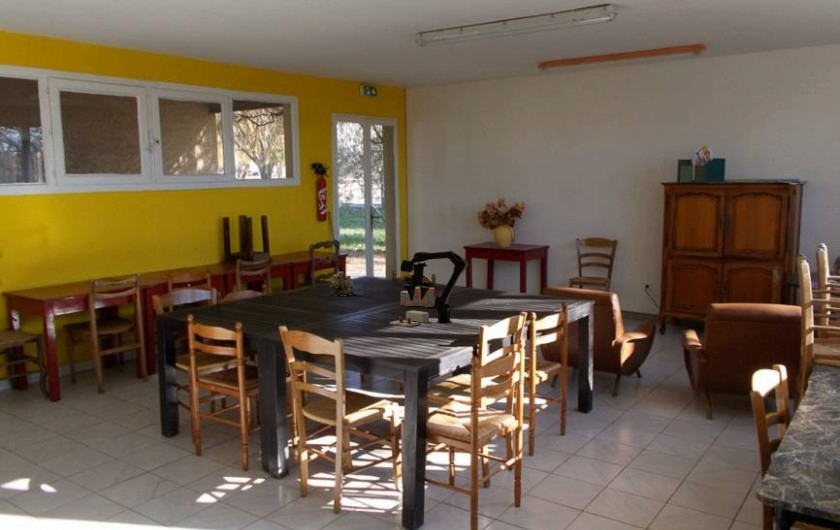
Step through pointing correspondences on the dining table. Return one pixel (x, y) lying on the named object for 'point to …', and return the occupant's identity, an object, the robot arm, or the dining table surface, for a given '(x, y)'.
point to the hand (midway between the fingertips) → (416, 300)
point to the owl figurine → (342, 284)
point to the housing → (417, 316)
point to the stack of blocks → (418, 298)
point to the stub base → (404, 322)
